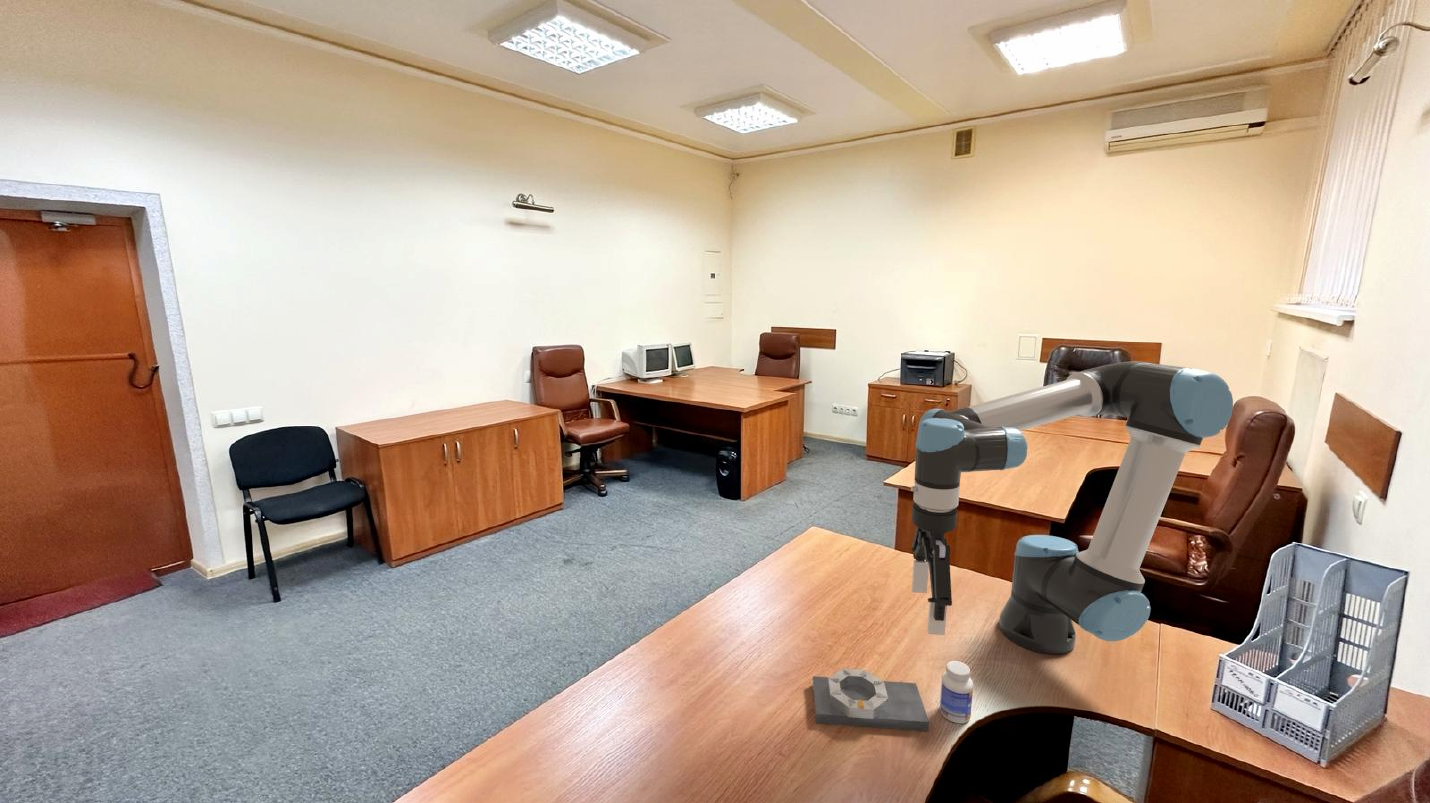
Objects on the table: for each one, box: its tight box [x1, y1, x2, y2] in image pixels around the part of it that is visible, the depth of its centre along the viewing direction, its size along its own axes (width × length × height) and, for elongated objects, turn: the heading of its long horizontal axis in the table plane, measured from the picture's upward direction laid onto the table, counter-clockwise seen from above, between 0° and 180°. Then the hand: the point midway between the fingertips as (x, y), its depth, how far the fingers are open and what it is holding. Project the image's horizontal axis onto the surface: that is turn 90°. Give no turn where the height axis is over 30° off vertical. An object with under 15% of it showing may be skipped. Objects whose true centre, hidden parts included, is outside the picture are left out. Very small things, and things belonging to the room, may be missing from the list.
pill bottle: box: [939, 660, 974, 724], centre depth 103 cm, size 5×5×10 cm
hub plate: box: [812, 668, 930, 733], centre depth 106 cm, size 20×10×4 cm, turn 84°
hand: (927, 611), depth 104 cm, fingers open, 13 cm apart
